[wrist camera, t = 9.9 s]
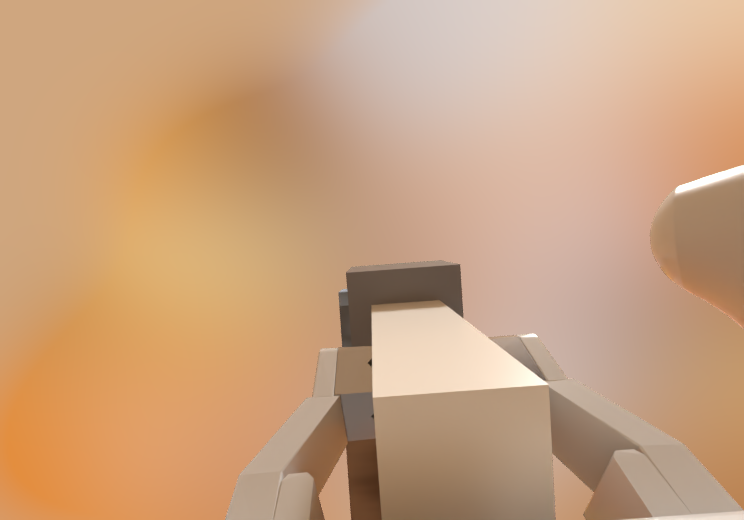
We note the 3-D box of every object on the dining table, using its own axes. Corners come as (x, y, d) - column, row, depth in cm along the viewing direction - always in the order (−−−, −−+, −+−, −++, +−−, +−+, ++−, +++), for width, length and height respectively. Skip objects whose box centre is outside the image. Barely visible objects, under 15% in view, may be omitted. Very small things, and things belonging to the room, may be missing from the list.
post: (467, 669, 26) (438, 282, 27) (489, 759, 21) (453, 286, 22) (369, 676, 26) (342, 289, 27) (368, 768, 21) (335, 294, 22)
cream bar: (444, 330, 18) (440, 260, 18) (613, 521, 6) (603, 292, 5) (356, 337, 18) (351, 266, 18) (325, 543, 6) (306, 314, 5)
